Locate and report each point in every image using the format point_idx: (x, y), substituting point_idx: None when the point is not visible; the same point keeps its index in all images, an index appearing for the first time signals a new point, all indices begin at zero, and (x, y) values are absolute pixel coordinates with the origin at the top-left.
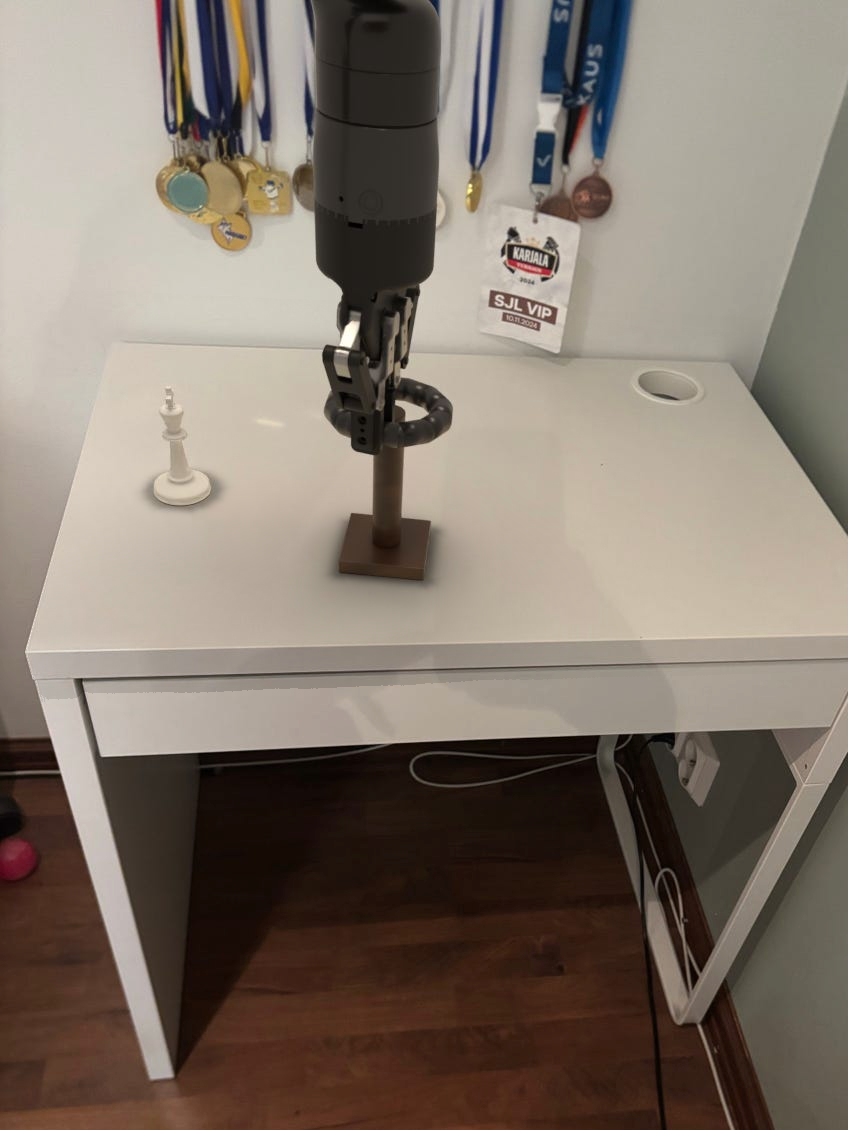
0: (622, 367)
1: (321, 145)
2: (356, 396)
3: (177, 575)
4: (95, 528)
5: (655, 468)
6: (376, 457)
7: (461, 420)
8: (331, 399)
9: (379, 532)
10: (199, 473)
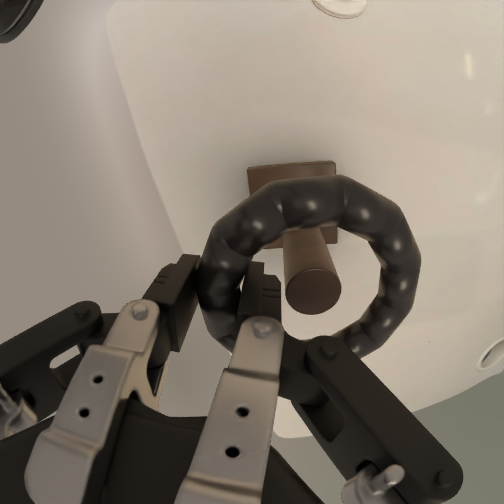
0: None
1: None
2: (80, 352)
3: (201, 33)
4: None
5: (420, 367)
6: (289, 240)
7: (491, 239)
8: (286, 201)
9: None
10: (359, 4)
